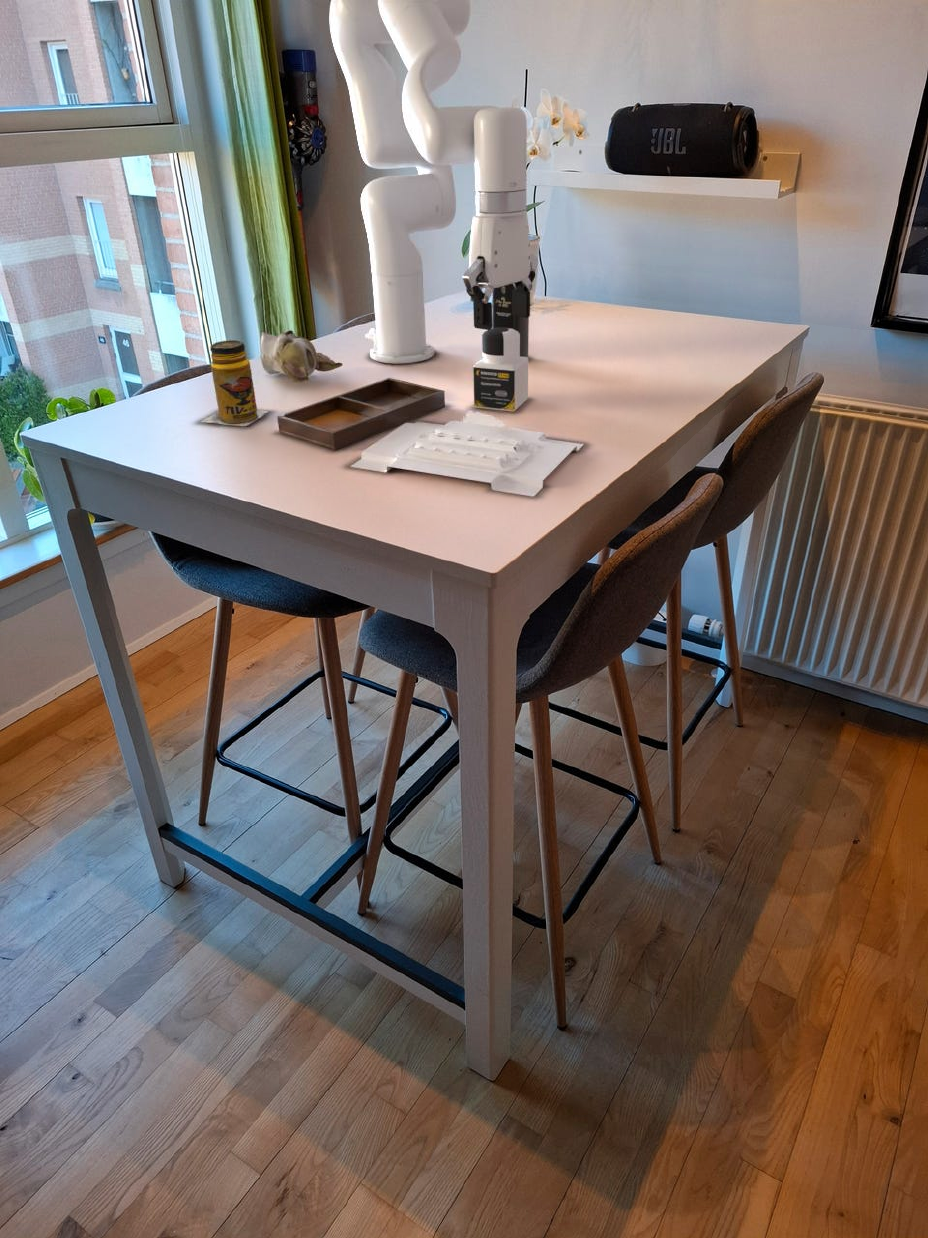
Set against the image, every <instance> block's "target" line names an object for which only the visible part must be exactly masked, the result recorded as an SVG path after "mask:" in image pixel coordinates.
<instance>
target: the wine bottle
mask: <svg viewBox="0 0 928 1238" xmlns="http://www.w3.org/2000/svg"><path fill="white" fill-rule="evenodd" d="M512 290H516V289H515V287H514V286H513V284H509V285H505V286H501V287H497V288H494V290H493V292H492V294H491V303H492V328H511V329H514V330H516V331H518V332H519V334H520V357H527V358H529V334H530V333H529V332H530V331H529V330H530V329H529V325H530V317H528V318H524V317H517V316H513V315H512Z"/></svg>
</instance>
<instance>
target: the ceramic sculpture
mask: <svg viewBox="0 0 928 1238" xmlns="http://www.w3.org/2000/svg"><path fill="white" fill-rule="evenodd" d="M259 358H260V362H261V366H262V369H263V370H264V372H266V373H267V374H268V375H278V374H283V375H285V376H287V378H289V379H290V380H291V381H292V382H296V383H304V382H306V381H308V380H309V379H310V378H309V376H311V375H312V374H313V373H314V372H315V371H318V372H330V371H333V370H335V369H338V368H340V367H342V366H343V363H342V362H335V360H333V359H331V358H330V357H329V356H328V355H326V354H323V353H322V352H317V350H316V348H315V345H314V344H313V342H312V341H310V340H309V339H307V338H305V337H303V336H302V337H301V336H297V335H296V334H295V333H294V331H293V330H286V331H283V332H281V333H280V334H279V335H274V334H270V333H266V332H264V331H263V332H262V333H261V337H260V357H259Z"/></svg>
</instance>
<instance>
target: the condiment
mask: <svg viewBox="0 0 928 1238" xmlns="http://www.w3.org/2000/svg"><path fill="white" fill-rule="evenodd" d="M209 351H210V352H211V355H210V357H211V363H210V369H211V375H212V381H213V386H214V393H215V398H216V404H217V407H218V408H217V409H218V410H217V411H216V412H215V413H213V414H211V415H210V416H207V417H206V418H205V419H203V420H201V421H200V423H207V424H219V425H224V426H233V427H235V426H236V427H247V426H249V425H251V424H253V423H254V422H256V421H257V420H259V419H260V418H262V417H263V416H264V415H265V414H266V413H268V412H269V411H268V410H258V407H257V406H258V405H257V401H256V400H257V399H256V393H255V387H254V382H253V376H252V375H253V373H252V368H251V367H252V366H251V362H250V360H249V359H248V358H247V351H246V346H245V344H244V342H242V341H240V340H233V339H230V340H229V339H228V340H220V341H217V342H214V343H212V344H211V345H210V350H209Z"/></svg>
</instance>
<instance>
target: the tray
mask: <svg viewBox="0 0 928 1238" xmlns="http://www.w3.org/2000/svg"><path fill="white" fill-rule="evenodd" d="M462 416H463V417H462V419H463V420H462V419H460V421H459V420H454V419H453V420H450V421H448V422H446V423H445V424H439V423H432V422H431V423H430V422H425V421H415V422H414V423H411V422H405V423H403V424H401V425H399V426H398V427H397V428H395V429H394V430H392V431H391V432H389V433H388V434H387V435H385V436H383V437H382V438H380V439H379V440H377V441H376V442H374V443H372V445H369V447H367V448H366V449H363V451H362V452H361V458H360V459H359V460H357V461H356V462H355V463H353V464H352V465H349V466H350V468H355V469H362V470H367V471H374V472H380V473H387V472H388V471H390V470H392V469H393V468H394V469H395V468H396V469H402V470H407V471H414V472H421V473H427V474H433V475H440V476H445V477H450V478H457V479H463V480H468V481H469V480H470V481H477V482H482V483H489V484H490V485H491V487H490V488H491V490H492V491H496V492H501V493H508V494H515V495H521V496H527V497H535V496H536V495H537V494H538V493H539V492H540V491H541V490H542V489H543V487H544V480H545V479H547V477H548V476H550V474H551V473H552V472H553V471H554V470H555V469H556V468H557V467H558V466H559V465H560V464H561V463H562V462H563V461H564V460H565V459H566V458H567V456H569V455H570V454H571V452H578V451H579V450H580V449H581V448H582V447H583V446H584V445H585V444H584V443H578V442H571V441H562V440H557V439H556V440H555V439H548V438H547V433H546V432H542V431H533V430H528V429H527V430H526V429H519V428H512V427H505V426H506V424H505V421H504V420H498V418H496V417H495V416H494V415H490V414H486V413H481V411H475V412H474V411H472V410H471V409H470V410H468V411H467V412H466V414H465V415H462Z"/></svg>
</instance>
